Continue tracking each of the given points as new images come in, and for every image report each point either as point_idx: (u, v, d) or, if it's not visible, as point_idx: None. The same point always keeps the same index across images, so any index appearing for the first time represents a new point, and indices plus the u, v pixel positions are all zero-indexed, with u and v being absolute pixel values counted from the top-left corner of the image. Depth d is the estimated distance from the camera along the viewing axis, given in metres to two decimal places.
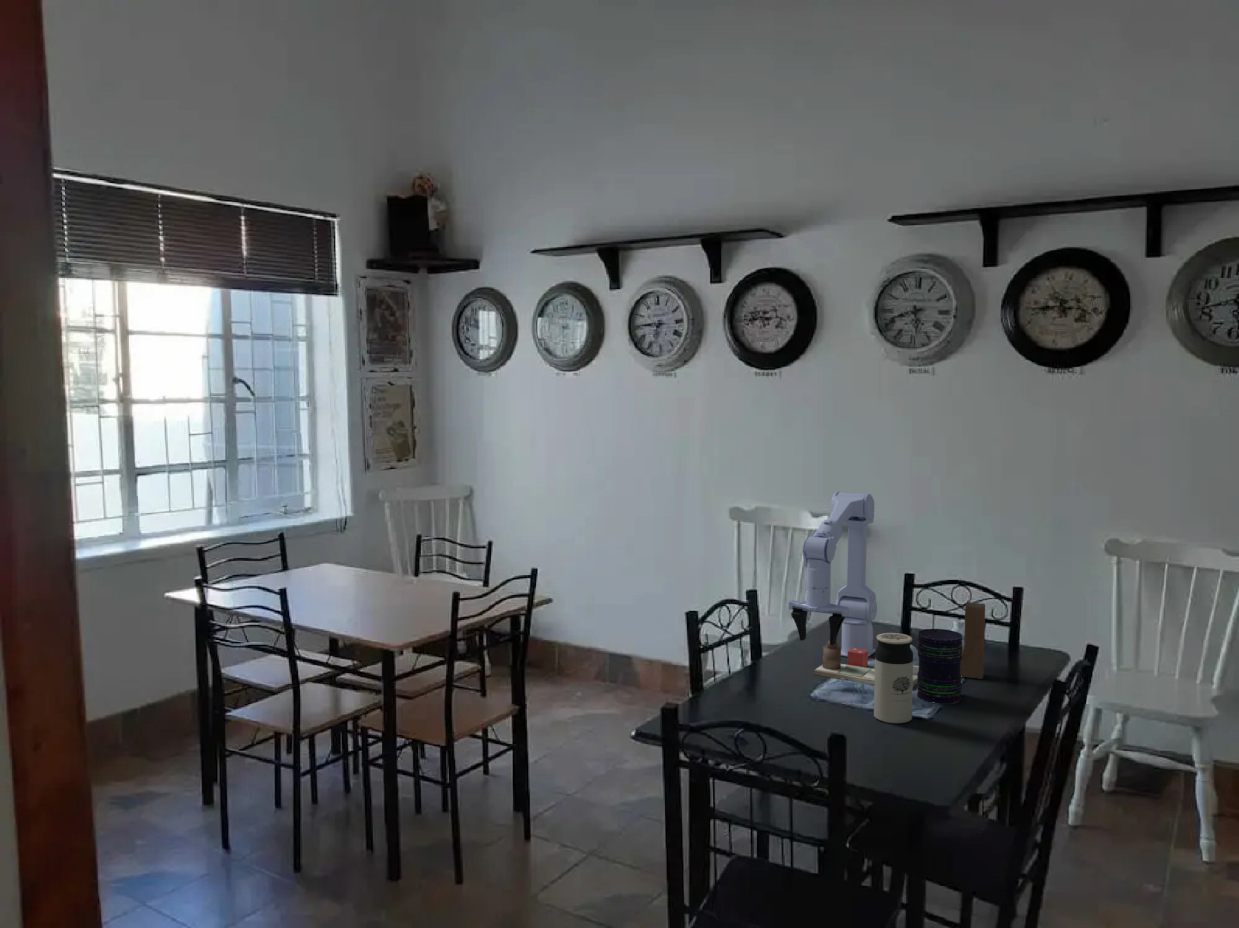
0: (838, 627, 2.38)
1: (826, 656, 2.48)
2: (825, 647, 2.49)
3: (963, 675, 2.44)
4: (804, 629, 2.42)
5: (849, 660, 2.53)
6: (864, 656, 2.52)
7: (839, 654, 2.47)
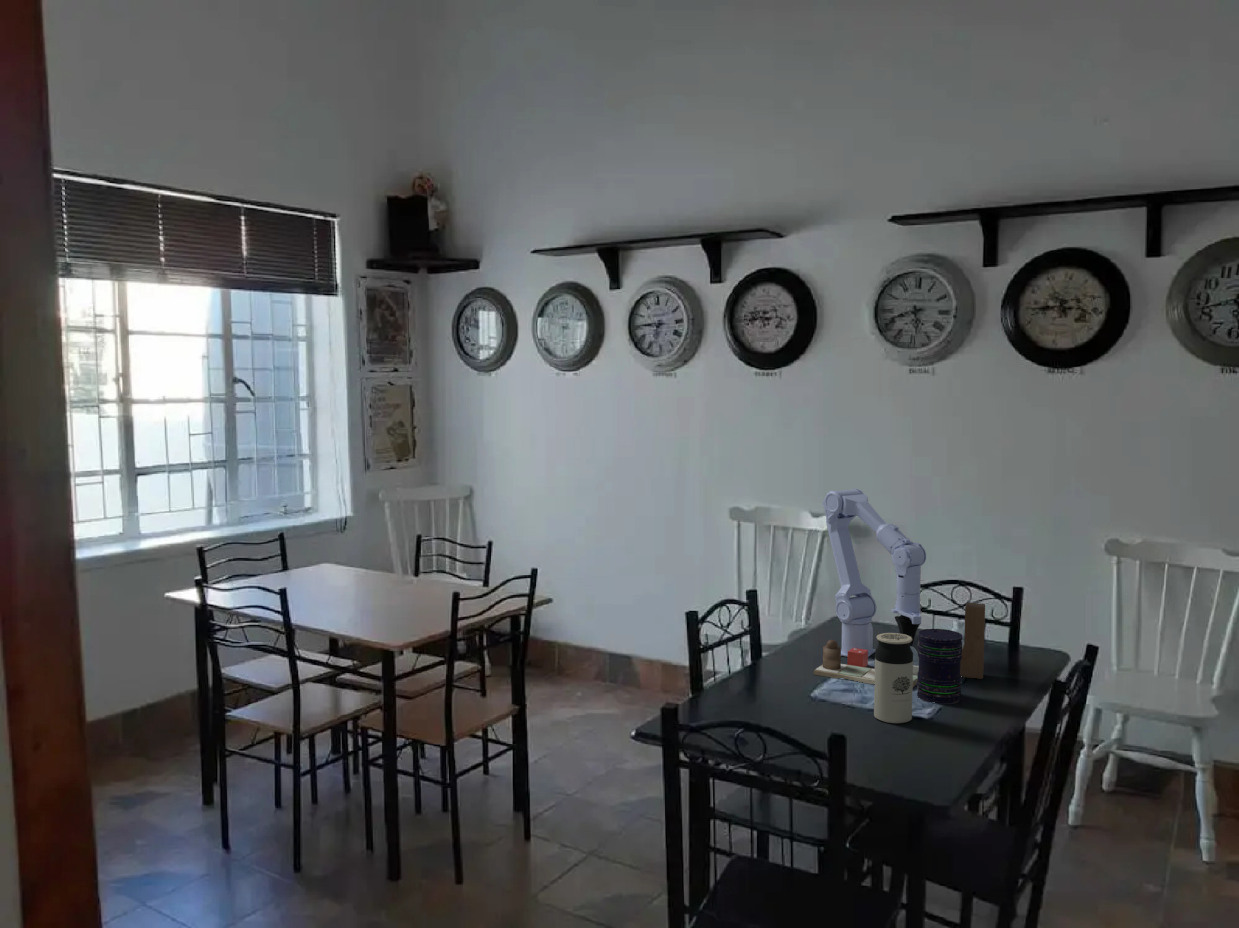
0: (913, 631, 2.47)
1: (826, 656, 2.48)
2: (825, 647, 2.49)
3: (963, 675, 2.44)
4: None
5: (849, 660, 2.53)
6: (864, 656, 2.52)
7: (839, 654, 2.47)
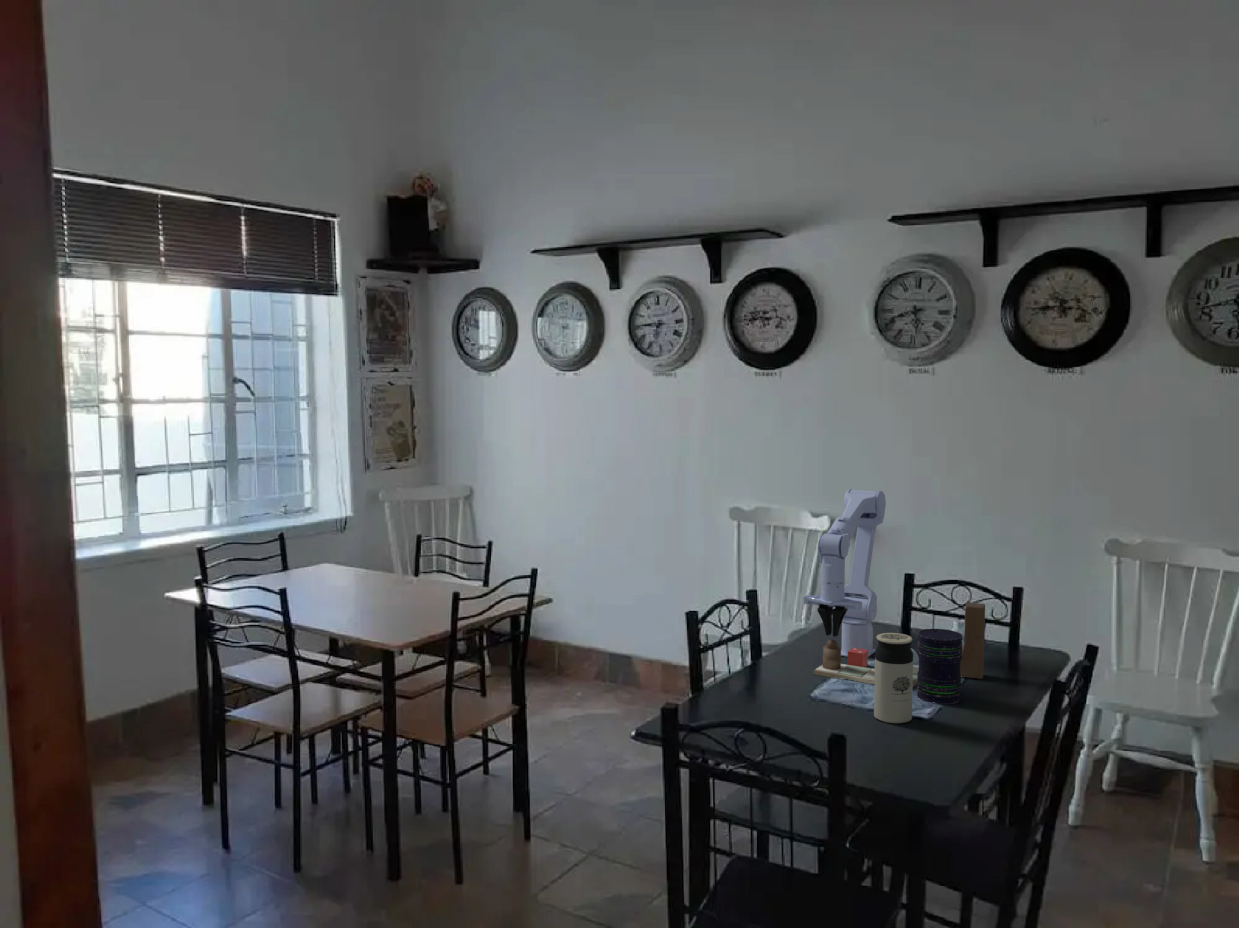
0: (841, 619, 2.48)
1: (826, 656, 2.48)
2: (825, 647, 2.49)
3: (963, 675, 2.44)
4: (830, 625, 2.49)
5: (849, 660, 2.53)
6: (864, 656, 2.52)
7: (839, 654, 2.47)
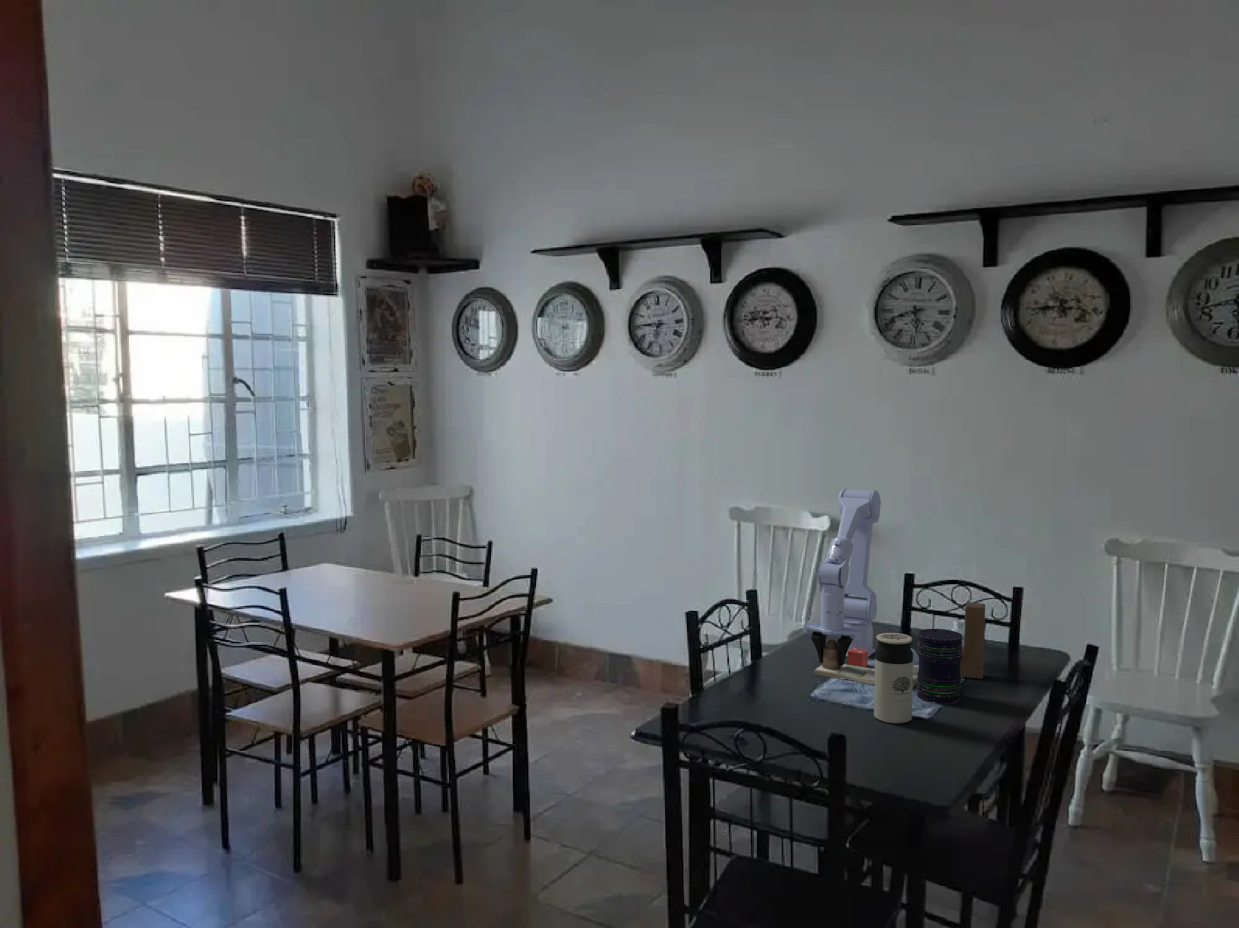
0: (846, 649, 2.48)
1: (826, 656, 2.48)
2: (825, 647, 2.49)
3: (963, 675, 2.44)
4: None
5: (849, 660, 2.53)
6: (864, 656, 2.52)
7: None
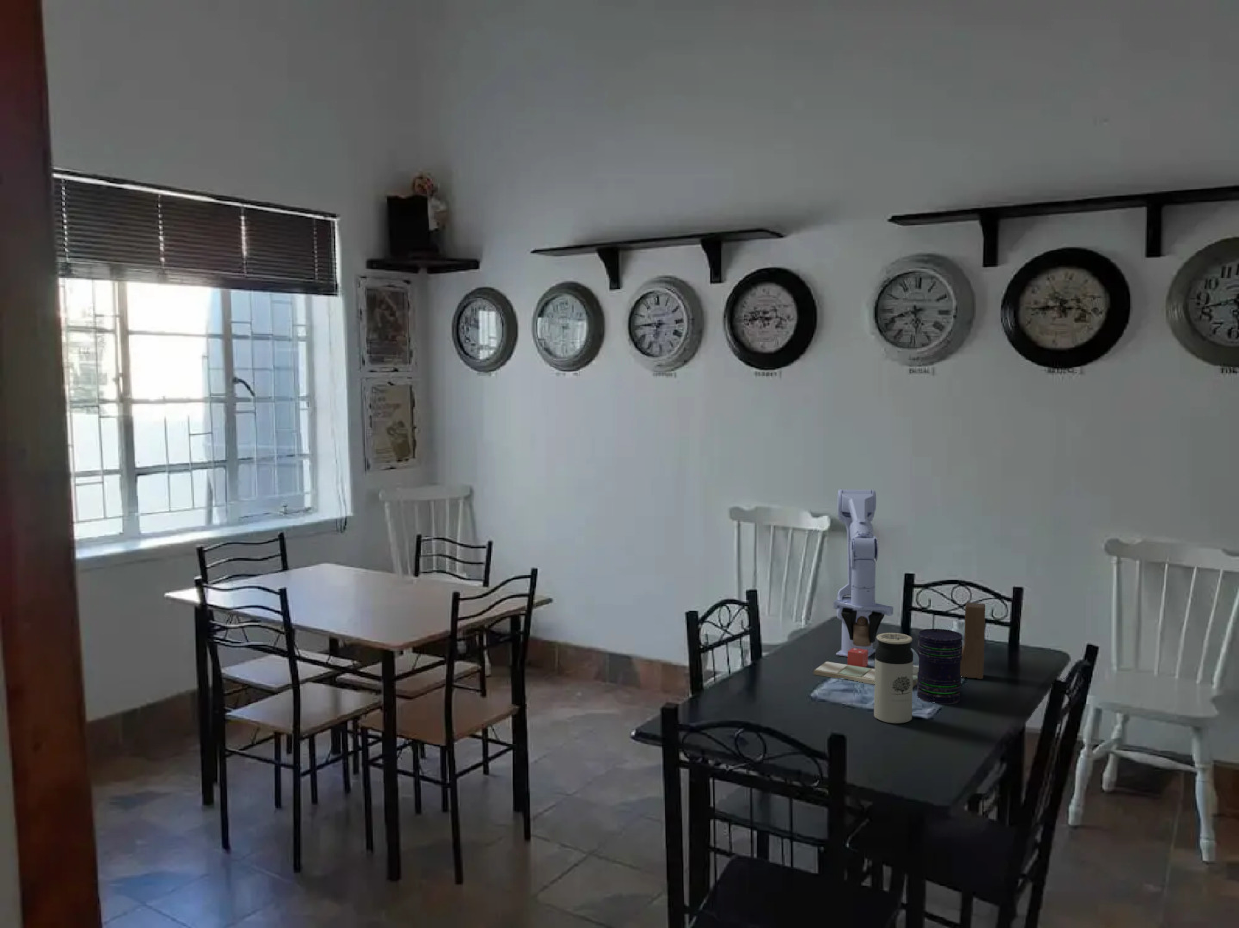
0: (877, 625, 2.43)
1: (856, 633, 2.43)
2: (855, 624, 2.44)
3: (963, 675, 2.44)
4: None
5: (849, 660, 2.53)
6: (864, 656, 2.52)
7: None
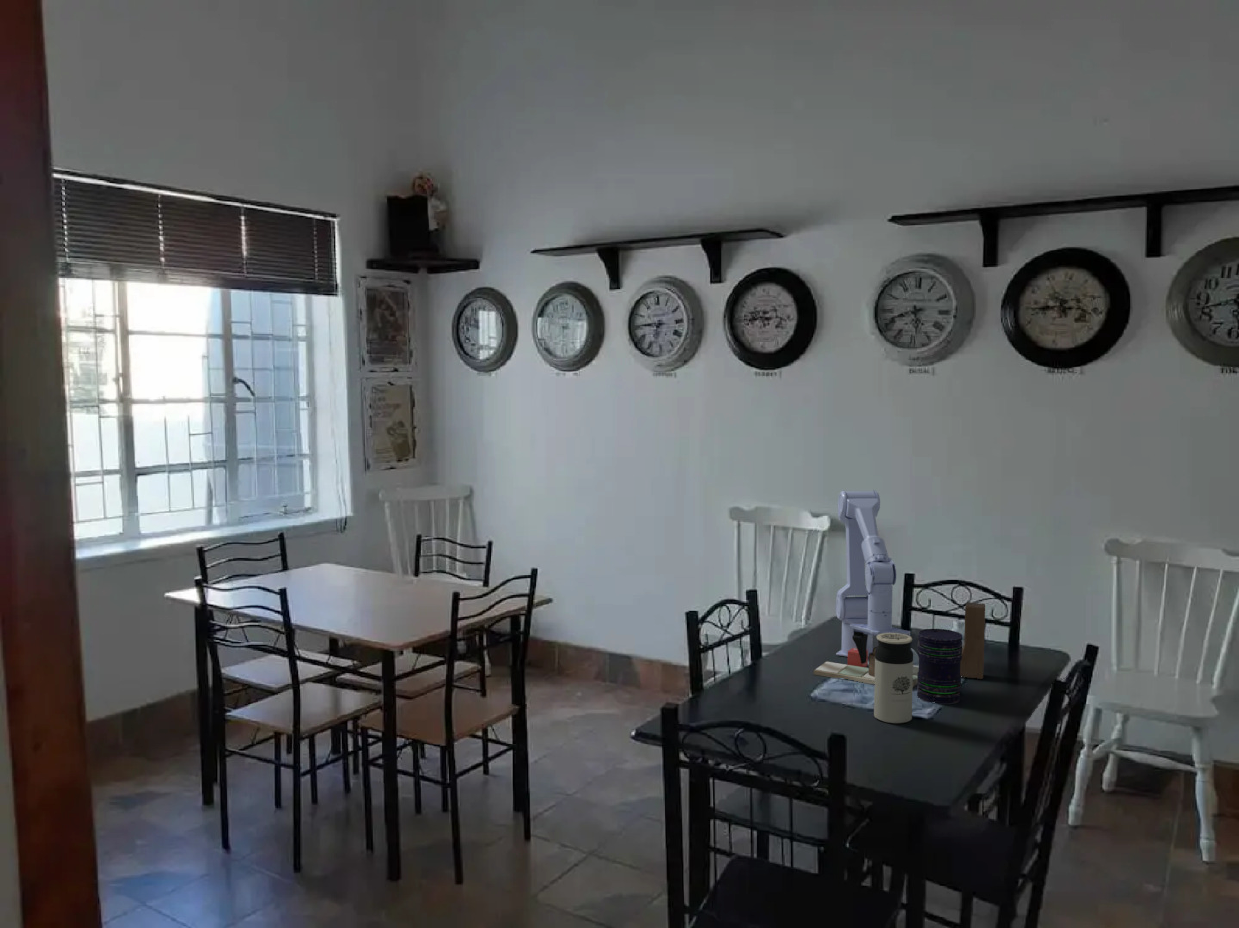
0: None
1: (872, 663, 2.41)
2: (871, 654, 2.43)
3: (963, 675, 2.44)
4: (865, 652, 2.45)
5: (849, 660, 2.53)
6: None
7: None
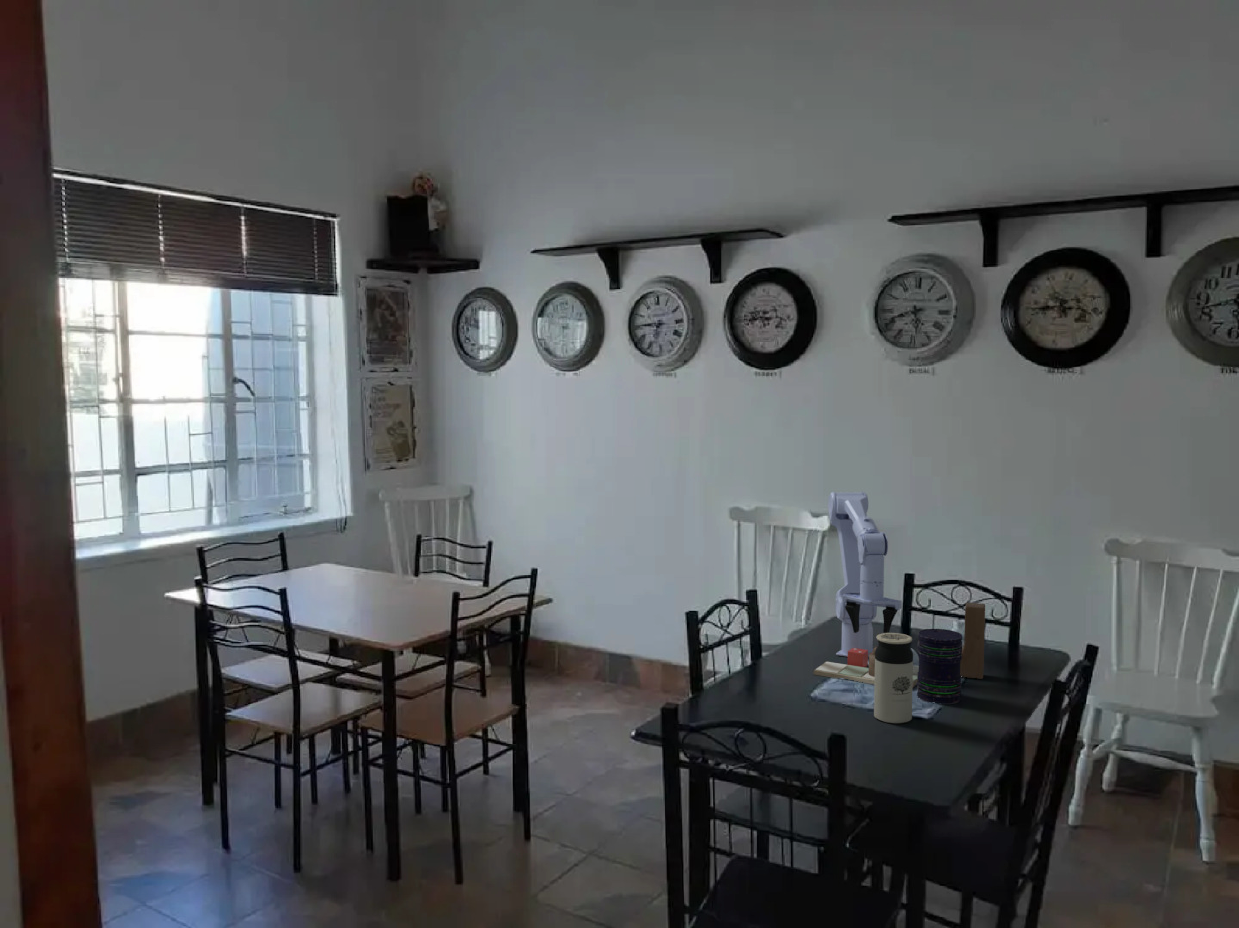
0: (891, 620, 2.47)
1: (872, 663, 2.41)
2: (871, 654, 2.43)
3: (963, 675, 2.44)
4: (857, 622, 2.51)
5: (849, 660, 2.53)
6: (864, 656, 2.52)
7: None
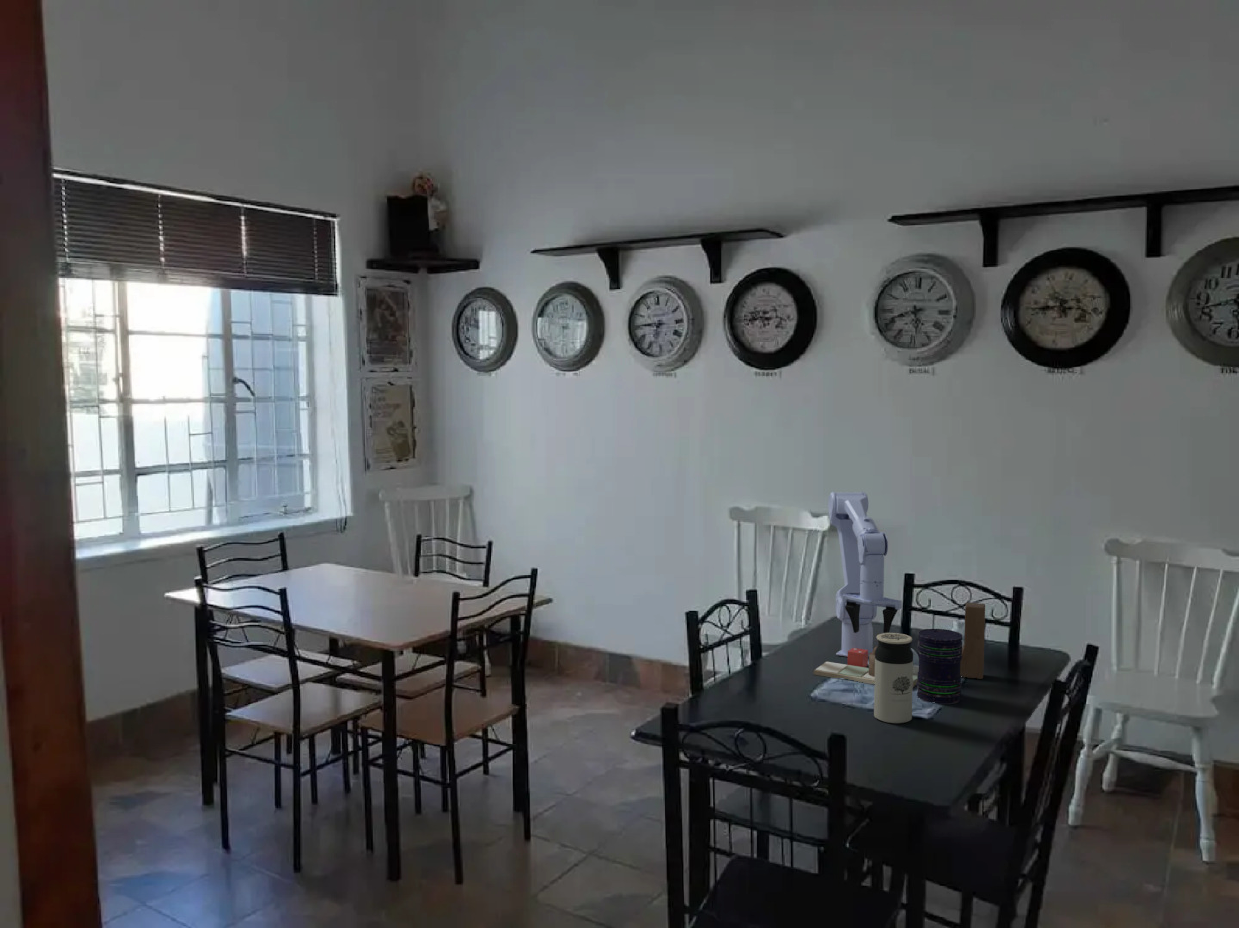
0: (891, 620, 2.47)
1: (872, 663, 2.41)
2: (871, 654, 2.43)
3: (963, 675, 2.44)
4: (857, 622, 2.51)
5: (849, 660, 2.53)
6: (864, 656, 2.52)
7: None
